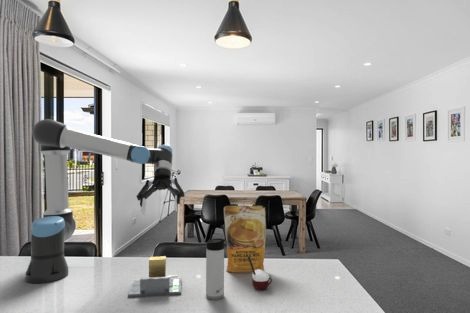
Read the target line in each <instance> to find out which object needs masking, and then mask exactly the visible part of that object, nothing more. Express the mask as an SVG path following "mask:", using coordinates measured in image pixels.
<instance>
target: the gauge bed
mask: <svg viewBox="0 0 470 313" xmlns="http://www.w3.org/2000/svg"><path fill="white" fill-rule="evenodd" d="M182 280H183V279H182V278H170V277H149V276H148V277H140V279H138V280H134V281H133V283H132V284H131V287H130V290H129V291H128V294H127V298H140V297H141V298H143V297H159V296H162V297H164V296H177V295H179V296H180V295H181V294H182Z"/></svg>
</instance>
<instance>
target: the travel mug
mask: <svg viewBox="0 0 470 313" xmlns="http://www.w3.org/2000/svg"><path fill="white" fill-rule="evenodd" d="M225 242H226V238H221V237H220V238H219V237H218V238H212V239H209V240H207V241H206V249H205V250H206V252H205V254H206V255H205V257H206V258H205V265H206V266H205V269H206V270H205V279H206V280H205V285H206V286H205V296H206V298H207V299H208V300H211V301H213V300H214V301H215V300H217V301H218V300H221V299H223V298H224V296H225Z"/></svg>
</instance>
